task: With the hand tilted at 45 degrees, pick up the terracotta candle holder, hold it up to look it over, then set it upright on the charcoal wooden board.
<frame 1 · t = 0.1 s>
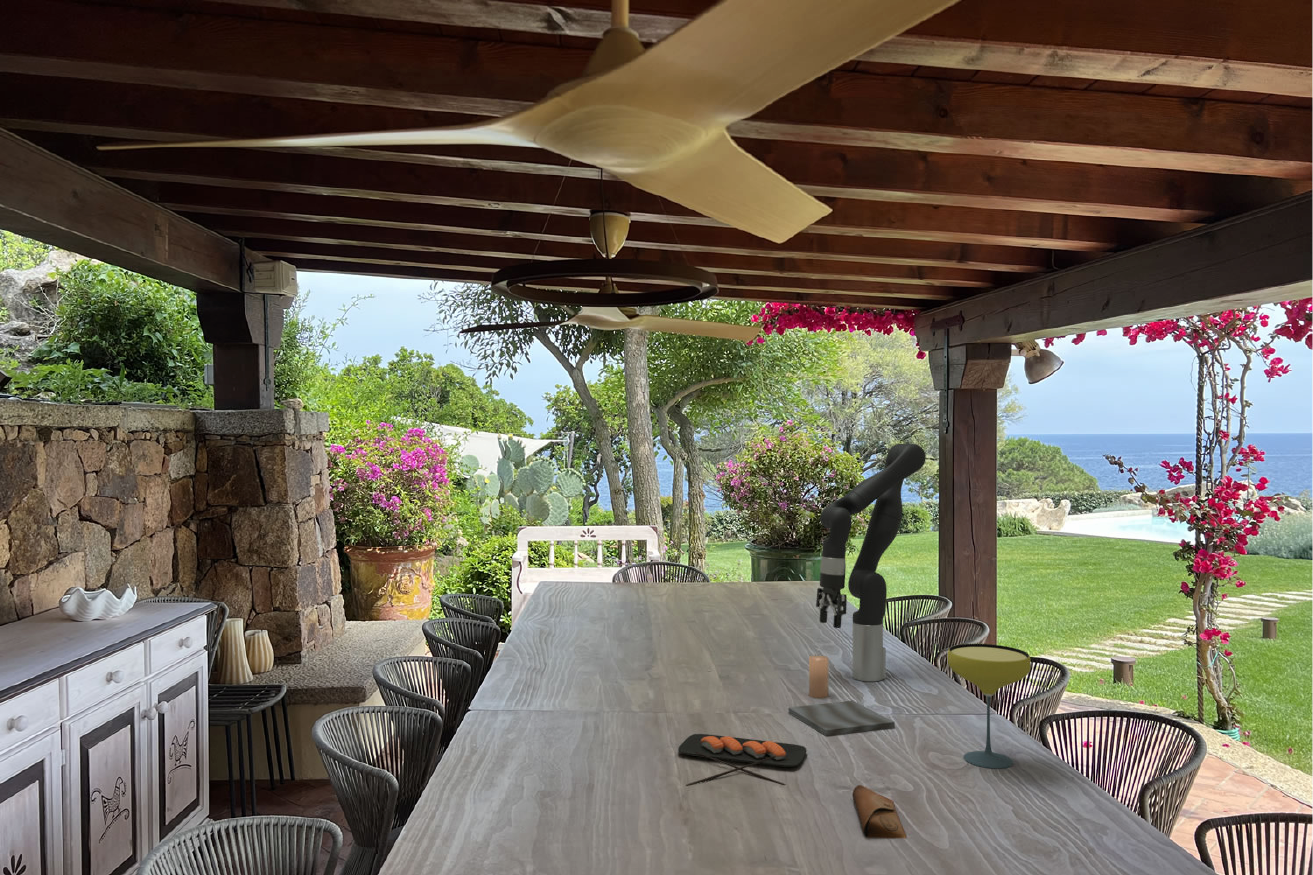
hand: (829, 625, 274), 17 cm above the table, tool pointing down, fingers open, 8 cm apart
sunglasses case: (878, 821, 175), on the table
sushi plate: (734, 768, 204), on the table
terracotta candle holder: (818, 695, 259), on the table
charcoal board: (840, 720, 237), on the table
cocktail glass: (988, 761, 207), on the table
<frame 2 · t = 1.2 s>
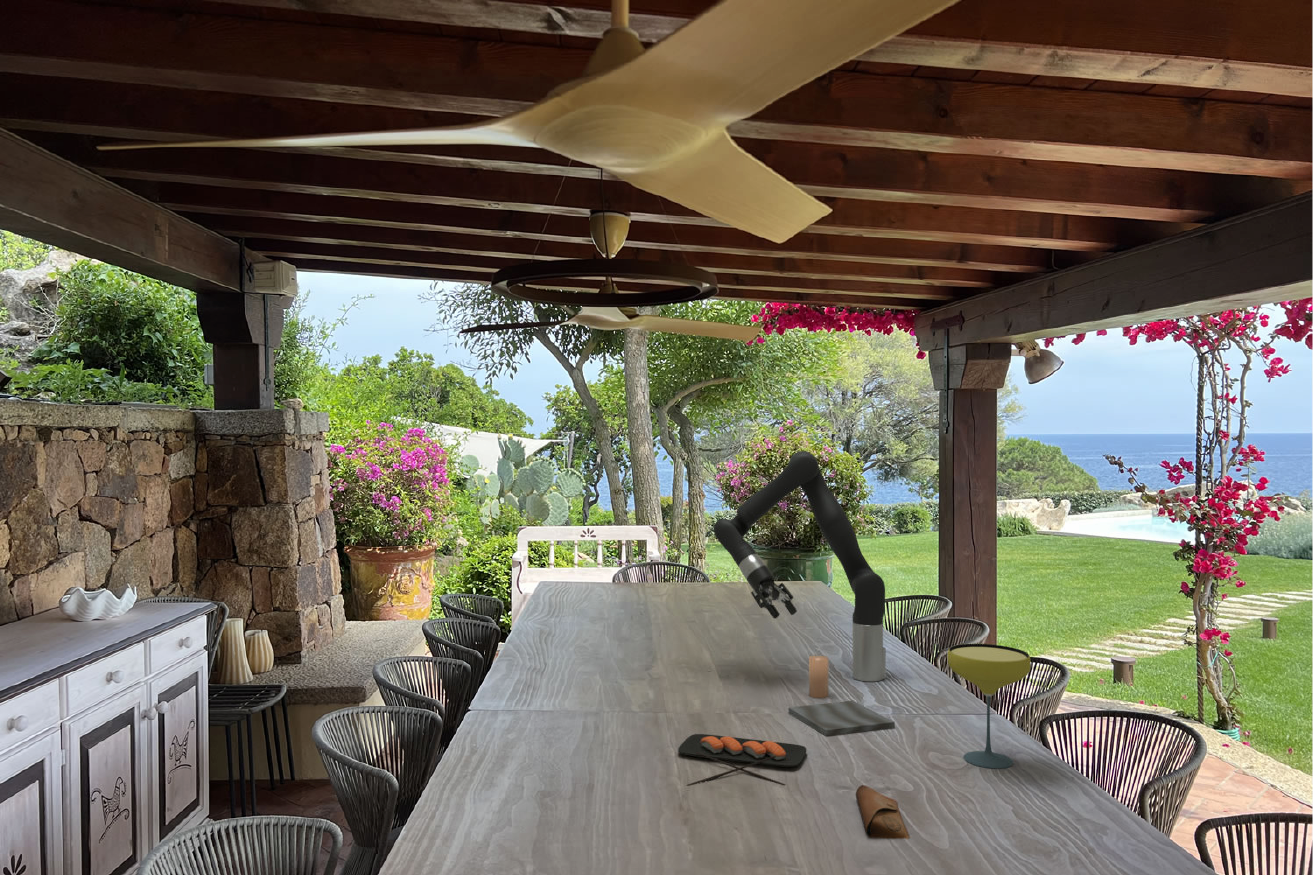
hand: (786, 615, 268), 22 cm above the table, tool tilted 45°, fingers open, 8 cm apart
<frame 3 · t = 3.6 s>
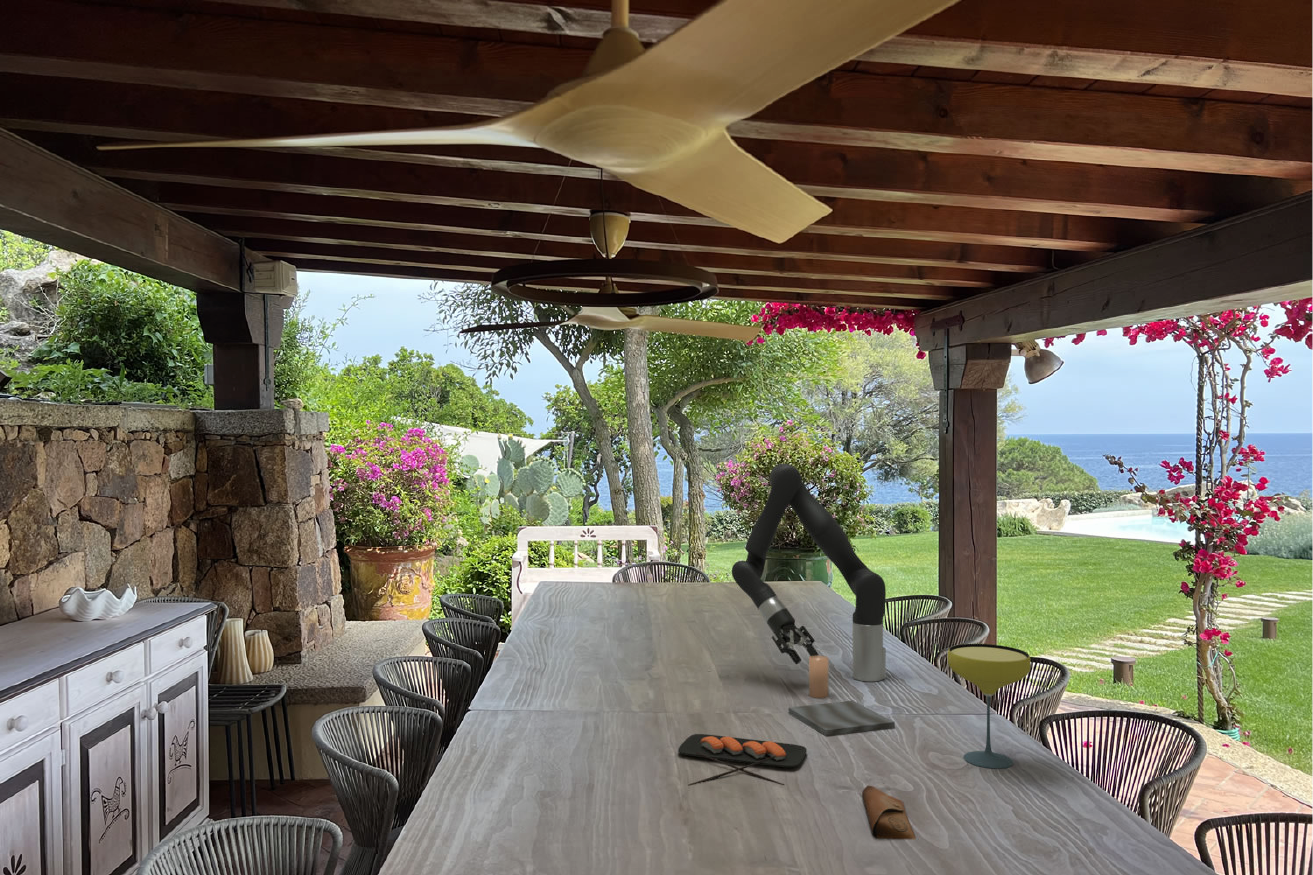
hand: (807, 659, 262), 10 cm above the table, tool tilted 45°, fingers open, 8 cm apart
sunglasses case: (888, 822, 175), on the table
everything else where it was.
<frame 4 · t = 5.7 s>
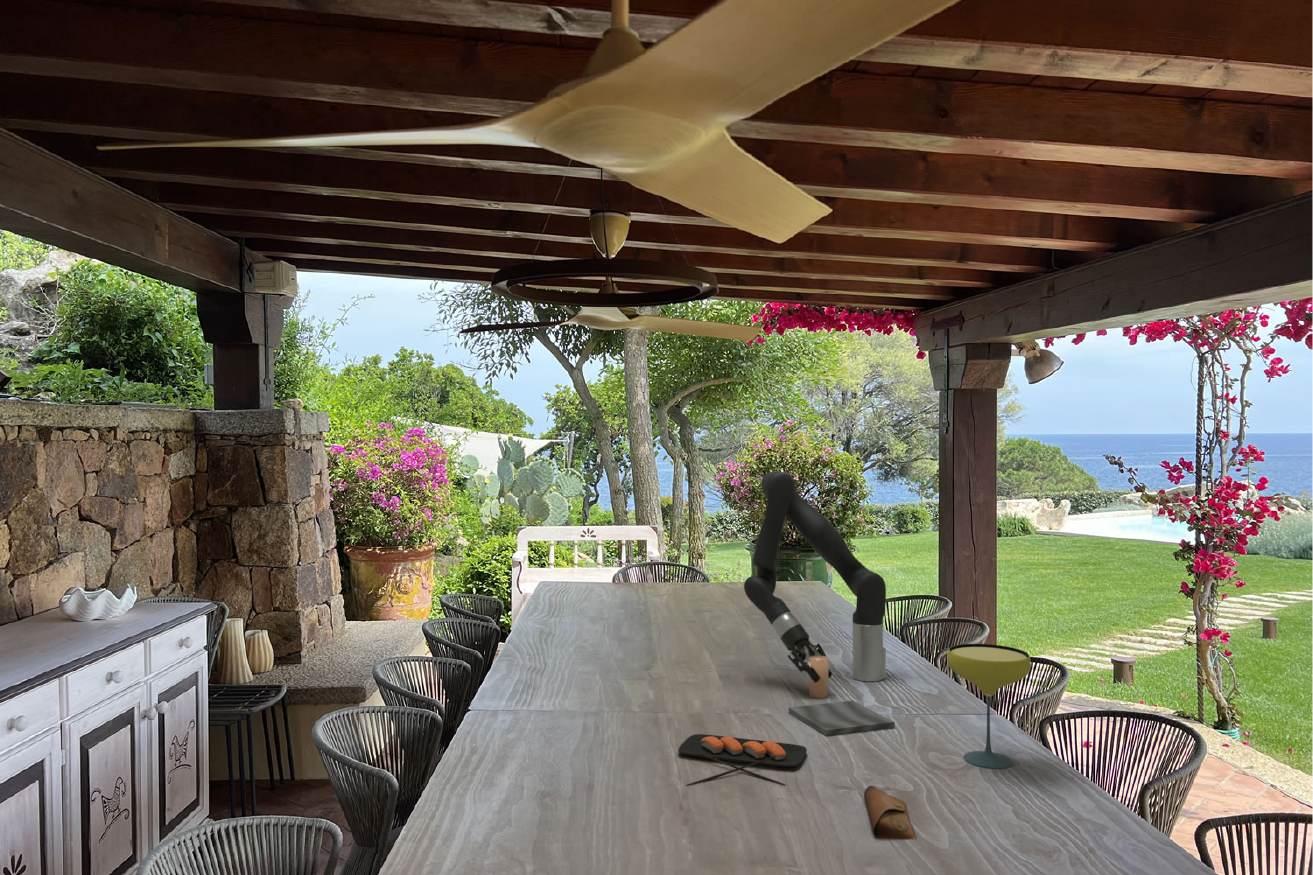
hand: (823, 678, 258), 5 cm above the table, tool tilted 45°, fingers closed on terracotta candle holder, 5 cm apart
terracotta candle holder: (818, 695, 259), on the table, touching gripper
everything else where it was.
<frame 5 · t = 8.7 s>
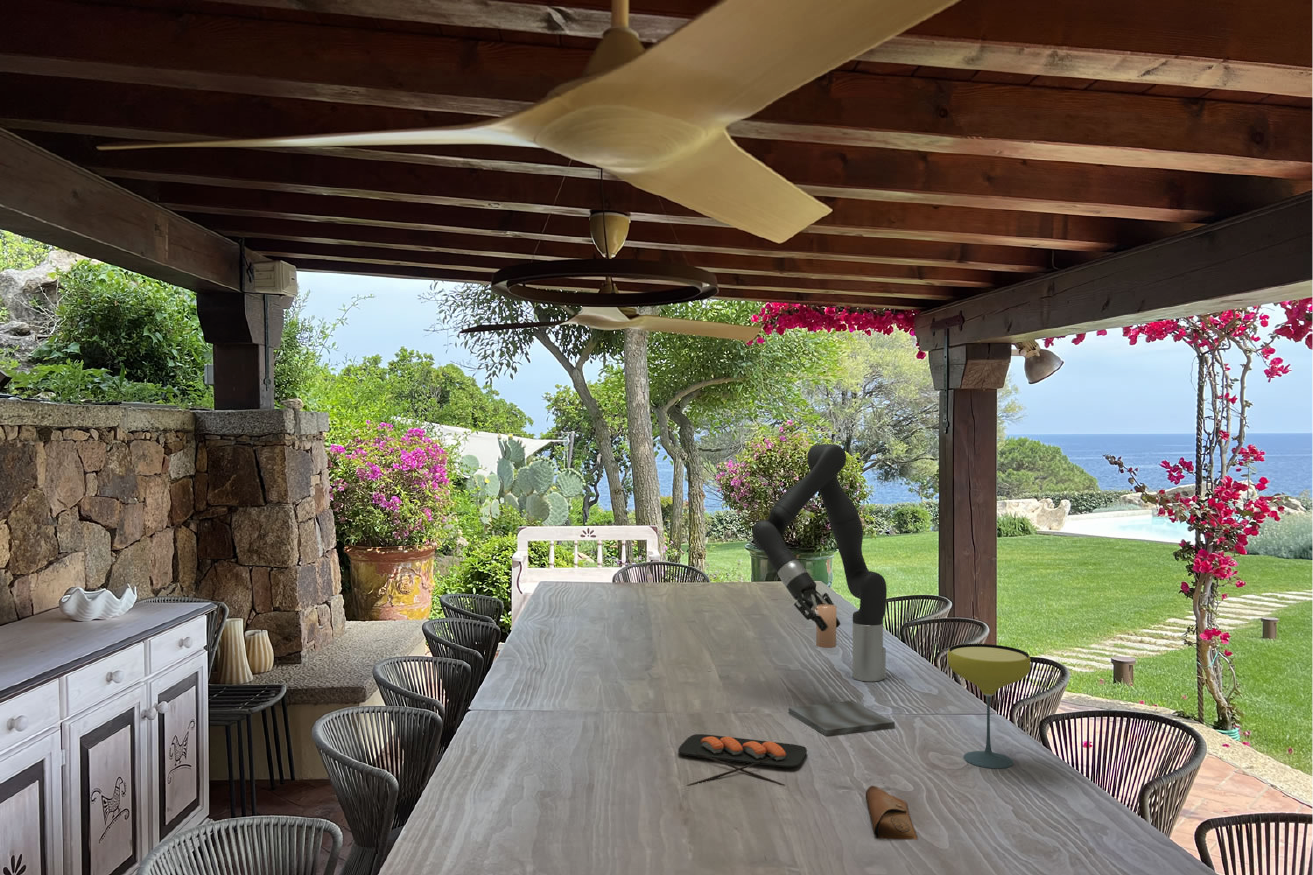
hand: (831, 627, 248), 22 cm above the table, tool tilted 45°, fingers closed on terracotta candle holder, 5 cm apart
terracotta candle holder: (826, 645, 249), point 17 cm above the table, touching gripper
everything else where it was.
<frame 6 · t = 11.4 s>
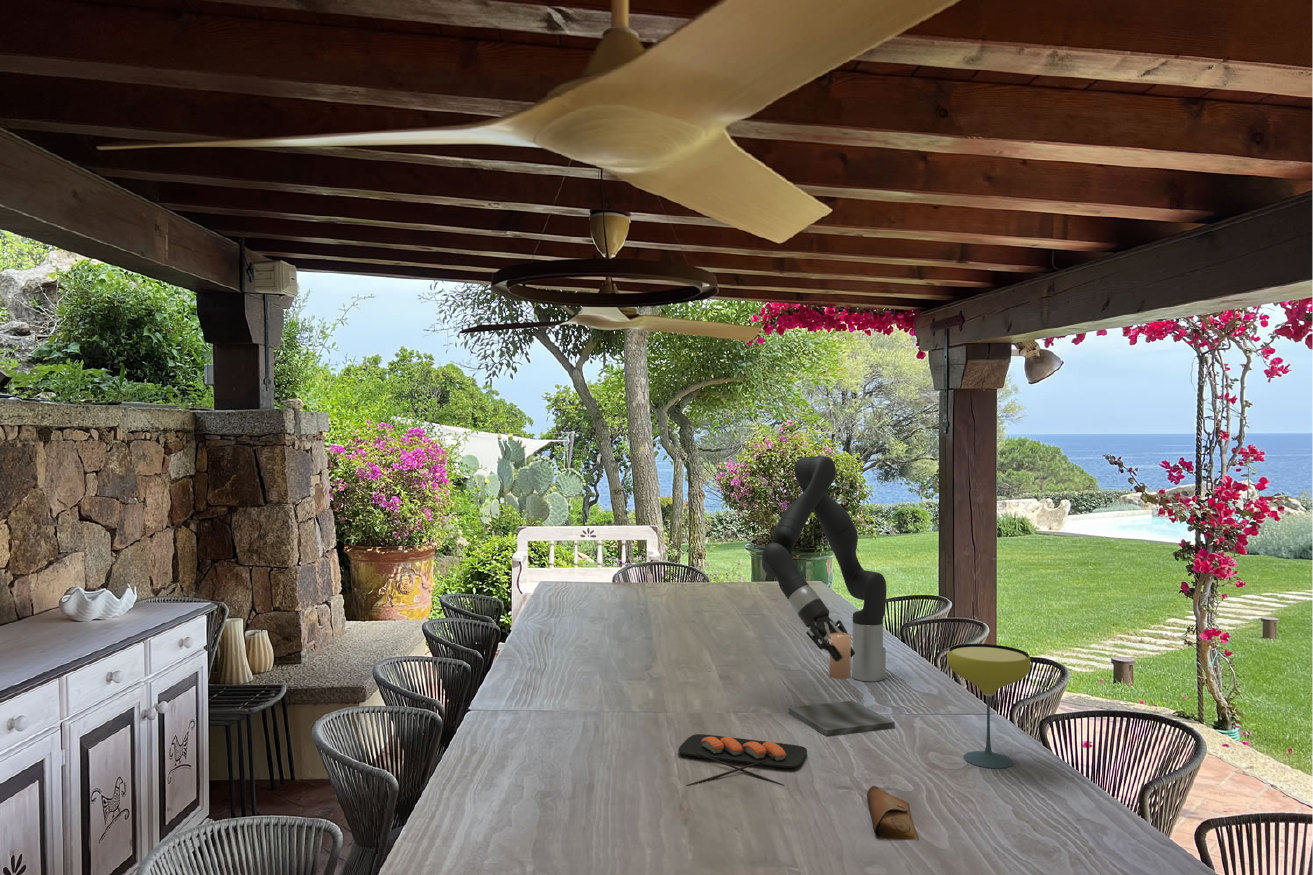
hand: (845, 657, 235), 17 cm above the table, tool tilted 45°, fingers closed on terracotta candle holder, 5 cm apart
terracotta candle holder: (839, 676, 237), point 12 cm above the table, touching gripper
everything else where it was.
when the fingers open (8 cm above the table, at t = 13.7 s): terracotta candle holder drops 1 cm, resting on charcoal board.
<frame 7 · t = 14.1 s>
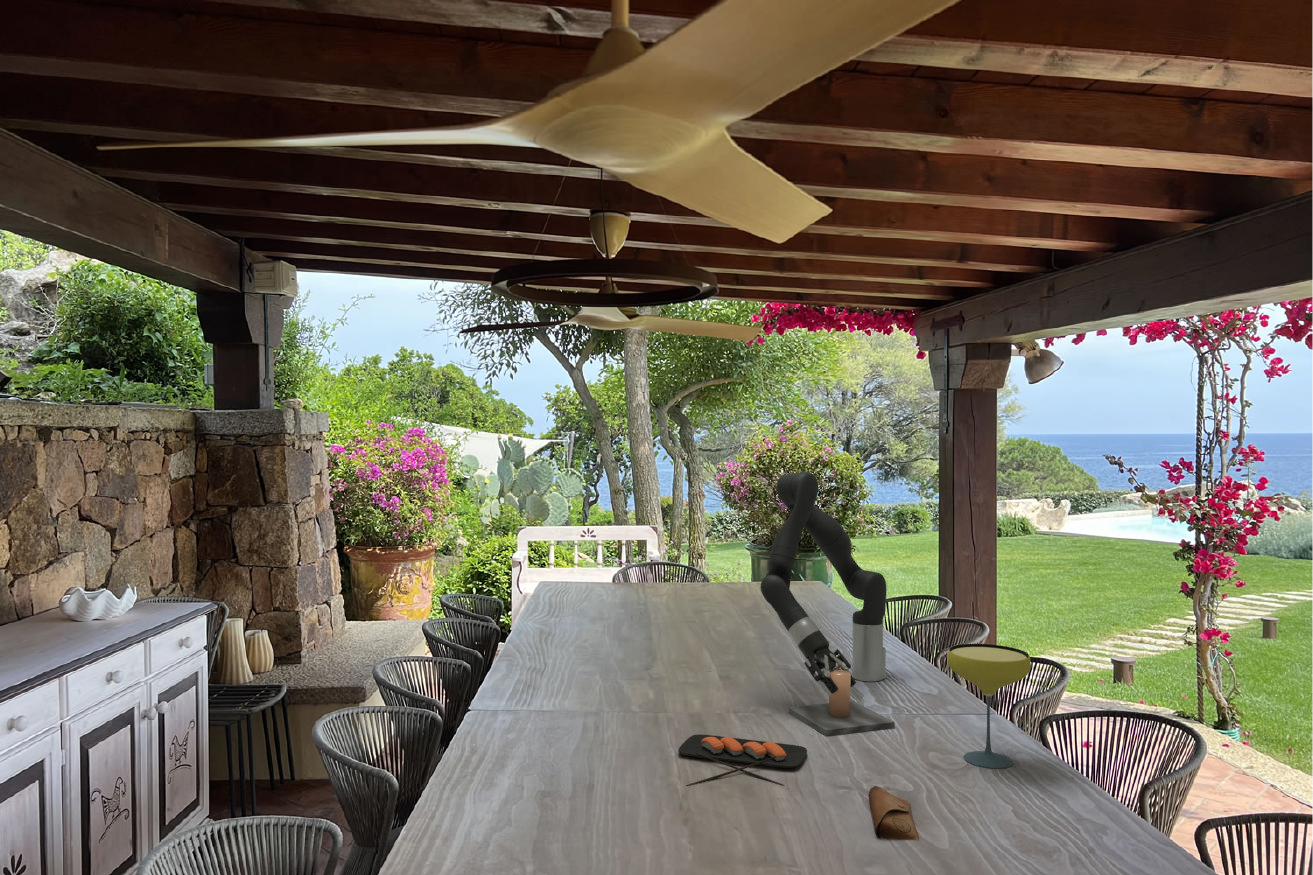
hand: (844, 688, 236), 9 cm above the table, tool tilted 45°, fingers open, 8 cm apart
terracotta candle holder: (839, 713, 237), point 2 cm above the table, touching charcoal board
everything else where it was.
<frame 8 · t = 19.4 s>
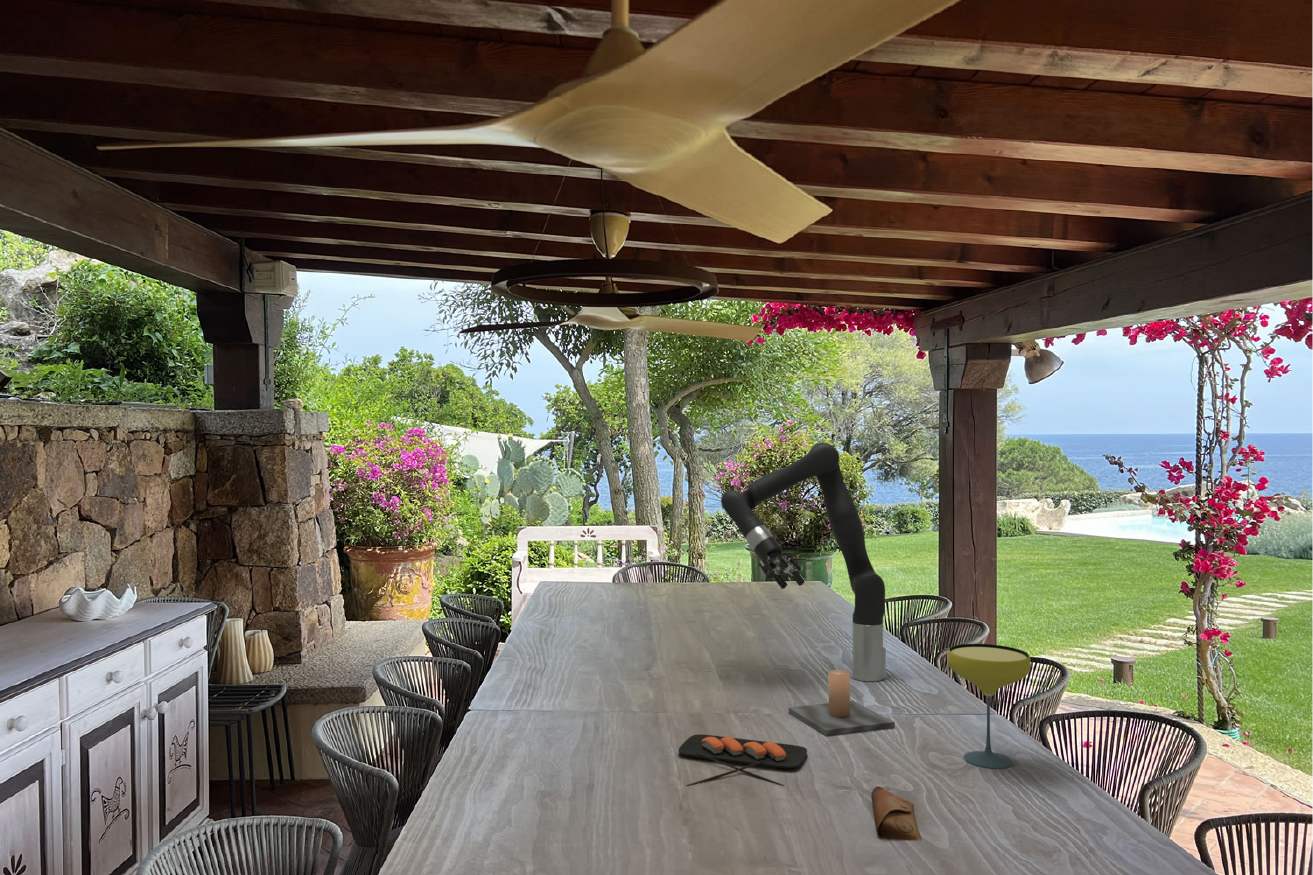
hand: (793, 585, 267), 31 cm above the table, tool tilted 45°, fingers open, 8 cm apart
at the end: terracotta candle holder inside the target area on the charcoal board (0.3 cm from its centre), point 1.6 cm above the charcoal board's base; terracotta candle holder tilted 1°; the gripper is holding nothing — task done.
